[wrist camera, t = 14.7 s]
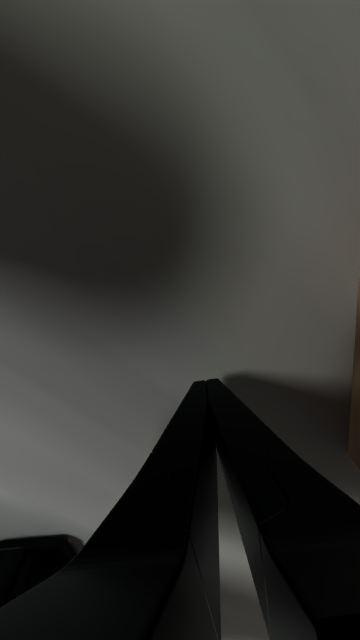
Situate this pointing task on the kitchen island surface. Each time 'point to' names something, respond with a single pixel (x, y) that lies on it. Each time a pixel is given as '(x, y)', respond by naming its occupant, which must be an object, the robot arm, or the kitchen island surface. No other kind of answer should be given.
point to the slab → (355, 394)
